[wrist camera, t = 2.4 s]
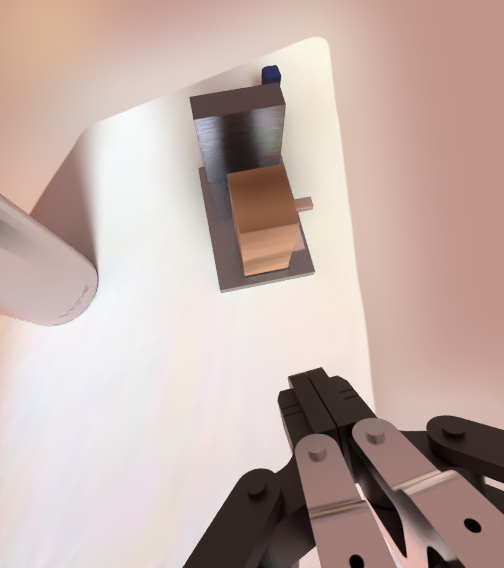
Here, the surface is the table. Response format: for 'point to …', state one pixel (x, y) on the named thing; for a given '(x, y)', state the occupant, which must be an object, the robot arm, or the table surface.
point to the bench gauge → (234, 158)
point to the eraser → (270, 75)
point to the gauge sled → (265, 217)
